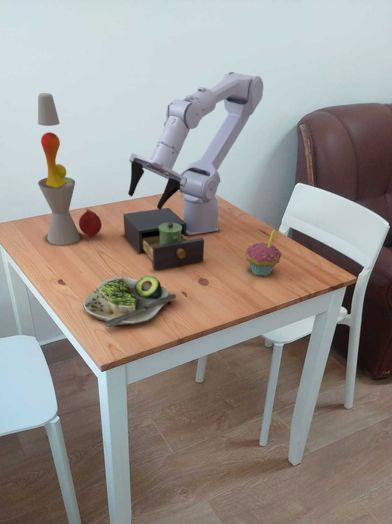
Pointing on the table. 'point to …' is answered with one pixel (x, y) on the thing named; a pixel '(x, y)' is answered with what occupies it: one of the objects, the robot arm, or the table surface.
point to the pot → (169, 233)
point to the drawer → (173, 251)
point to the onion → (90, 223)
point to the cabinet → (148, 225)
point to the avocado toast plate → (127, 300)
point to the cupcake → (263, 257)
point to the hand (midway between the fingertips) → (144, 201)
